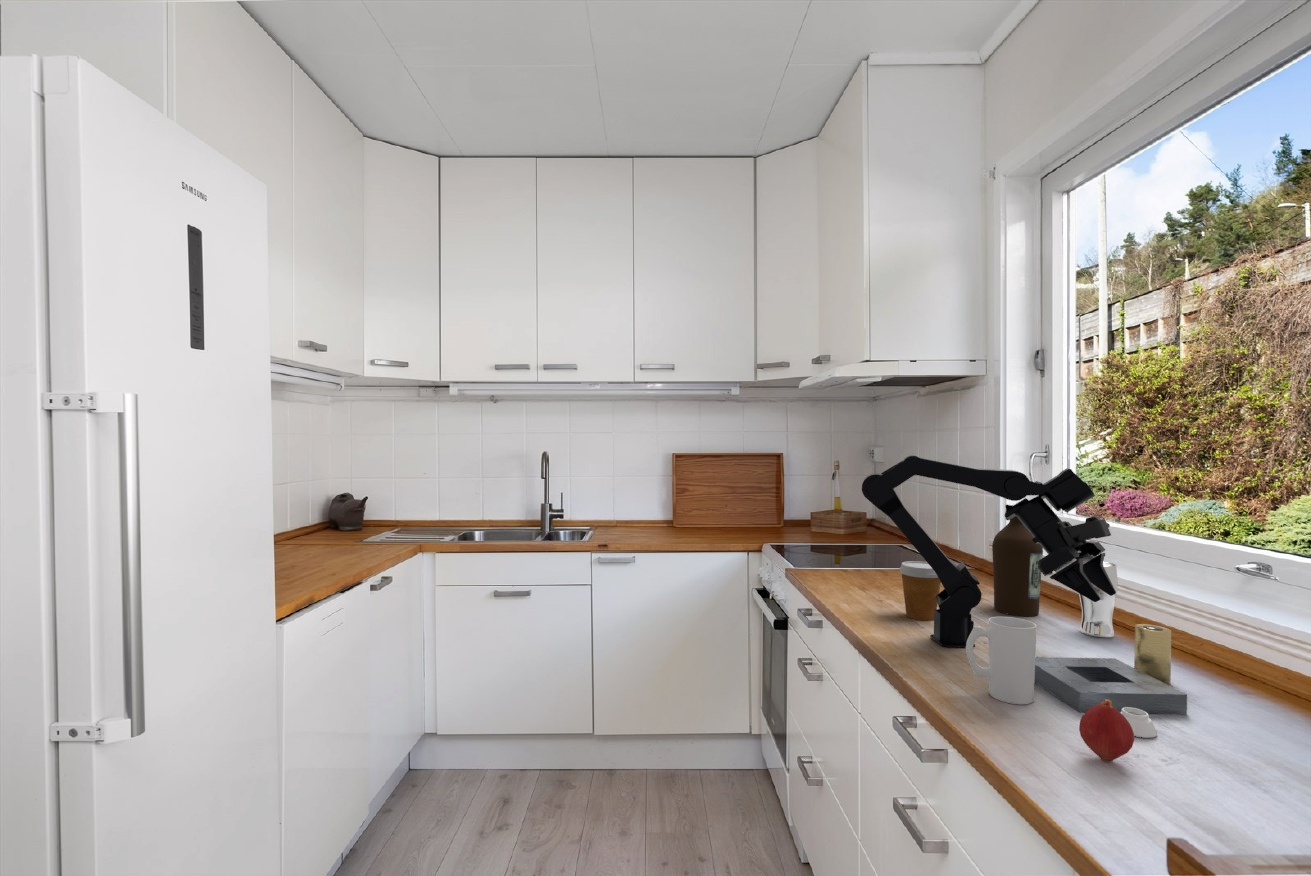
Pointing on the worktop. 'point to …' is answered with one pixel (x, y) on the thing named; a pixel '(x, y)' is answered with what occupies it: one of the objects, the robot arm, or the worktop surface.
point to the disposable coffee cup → (920, 589)
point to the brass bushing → (1153, 651)
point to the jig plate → (1106, 685)
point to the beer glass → (1100, 609)
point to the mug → (1007, 658)
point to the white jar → (1139, 722)
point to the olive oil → (1016, 570)
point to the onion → (1106, 731)
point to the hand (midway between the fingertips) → (1106, 597)
